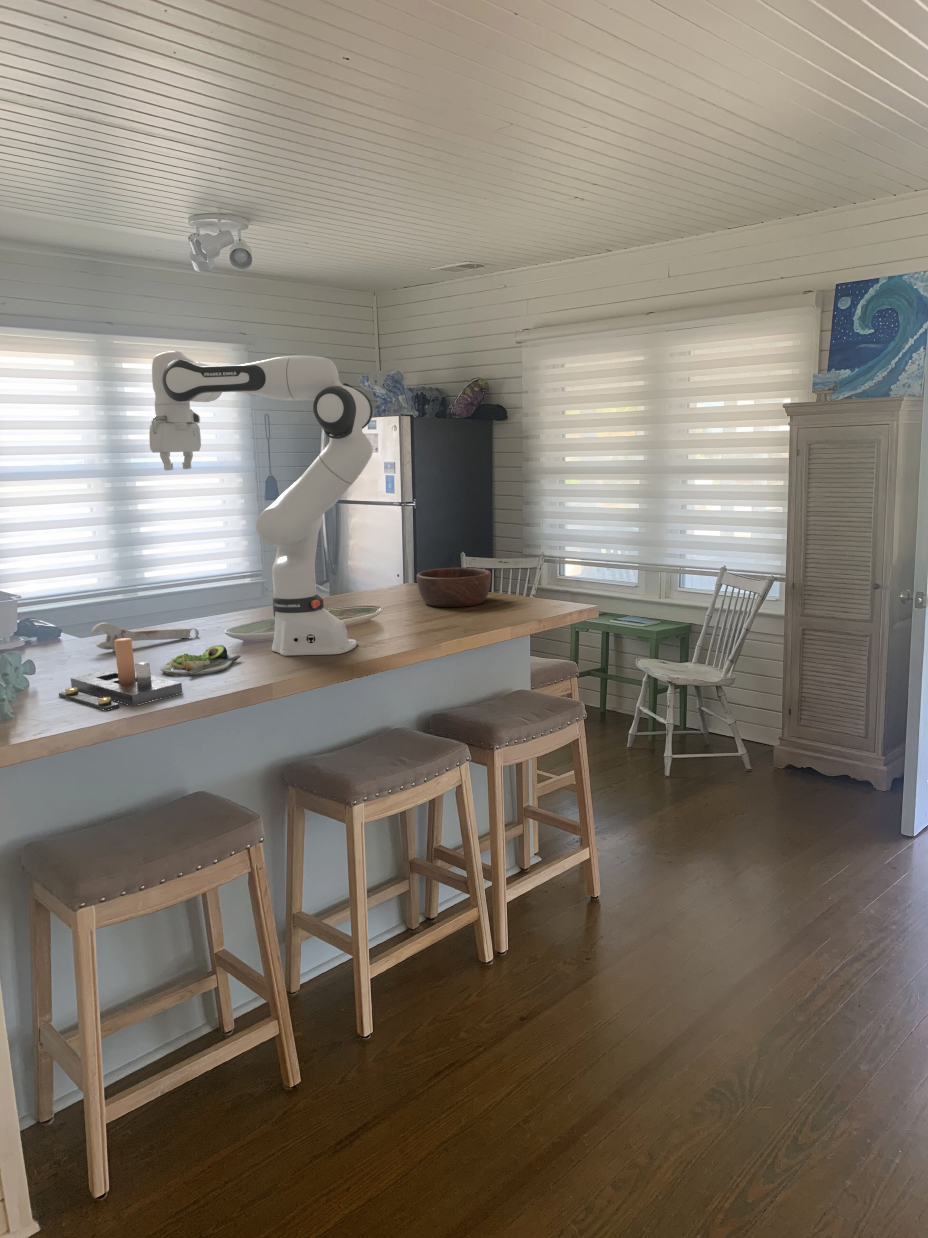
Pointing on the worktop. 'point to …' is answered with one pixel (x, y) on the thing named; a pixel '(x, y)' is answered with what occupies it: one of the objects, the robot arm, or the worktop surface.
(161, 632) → the wrench
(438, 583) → the wooden bowl
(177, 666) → the salad plate
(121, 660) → the dowel
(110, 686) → the hole plate
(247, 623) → the worktop surface
